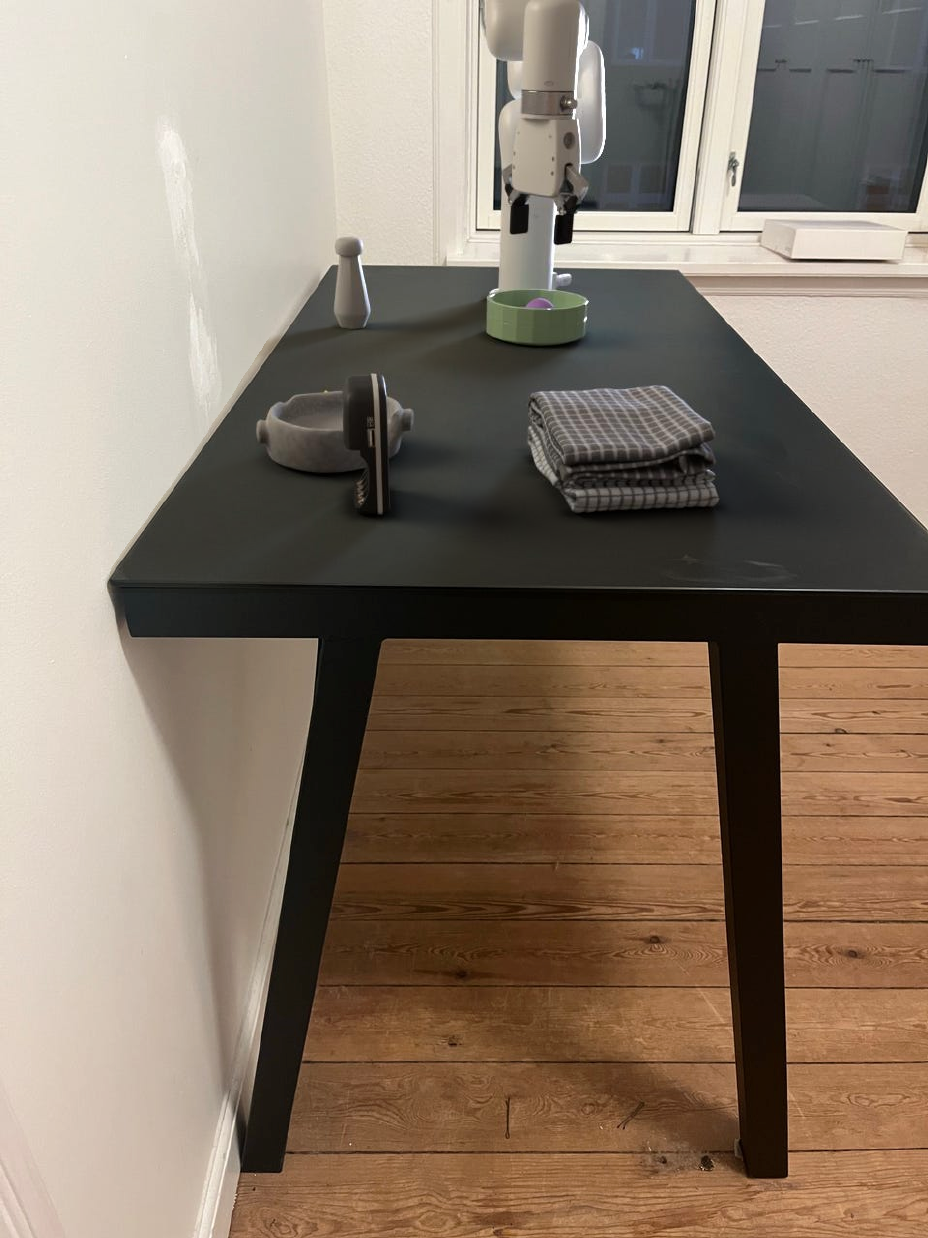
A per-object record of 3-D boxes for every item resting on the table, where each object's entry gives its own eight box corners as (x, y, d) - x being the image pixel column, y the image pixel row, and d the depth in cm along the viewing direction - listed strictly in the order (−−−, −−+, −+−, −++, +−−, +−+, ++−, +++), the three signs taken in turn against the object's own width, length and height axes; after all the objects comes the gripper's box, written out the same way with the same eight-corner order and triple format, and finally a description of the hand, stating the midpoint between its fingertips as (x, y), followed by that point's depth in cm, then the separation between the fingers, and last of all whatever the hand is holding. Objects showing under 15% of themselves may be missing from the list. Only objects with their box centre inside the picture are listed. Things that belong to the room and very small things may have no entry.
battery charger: (346, 488, 87) (340, 369, 81) (386, 487, 88) (382, 368, 82) (347, 519, 81) (340, 392, 75) (390, 517, 82) (386, 391, 76)
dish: (425, 444, 98) (424, 398, 96) (359, 488, 87) (356, 437, 85) (311, 423, 103) (308, 380, 101) (235, 463, 92) (229, 414, 90)
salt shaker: (374, 322, 147) (371, 235, 140) (367, 330, 142) (364, 241, 136) (338, 320, 148) (334, 234, 141) (330, 329, 143) (325, 239, 136)
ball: (537, 320, 144) (546, 290, 140) (557, 336, 141) (566, 306, 138) (513, 324, 141) (521, 294, 137) (532, 340, 138) (541, 310, 135)
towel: (656, 444, 99) (665, 372, 95) (721, 512, 84) (735, 430, 80) (519, 449, 97) (523, 376, 93) (560, 520, 82) (566, 435, 78)
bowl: (539, 320, 150) (541, 285, 148) (605, 338, 140) (608, 301, 137) (466, 332, 142) (466, 295, 140) (530, 352, 132) (532, 313, 129)
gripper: (612, 109, 122) (599, 245, 131) (527, 101, 133) (521, 227, 143) (571, 110, 118) (561, 250, 127) (487, 102, 129) (483, 232, 139)
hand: (540, 238), depth 135 cm, fingers open, 9 cm apart
